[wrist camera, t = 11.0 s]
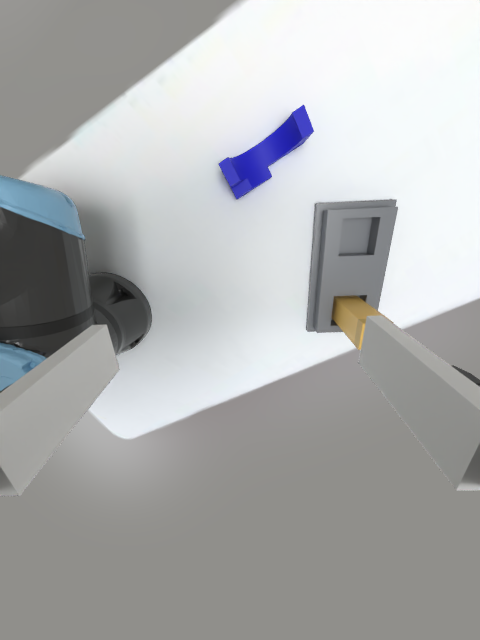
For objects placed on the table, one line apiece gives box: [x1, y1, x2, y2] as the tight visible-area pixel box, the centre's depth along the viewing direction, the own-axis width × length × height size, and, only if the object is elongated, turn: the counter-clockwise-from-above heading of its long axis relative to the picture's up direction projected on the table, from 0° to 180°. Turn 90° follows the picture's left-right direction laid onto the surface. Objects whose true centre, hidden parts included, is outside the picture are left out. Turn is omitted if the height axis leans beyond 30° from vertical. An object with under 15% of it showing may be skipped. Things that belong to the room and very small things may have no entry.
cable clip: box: [219, 105, 314, 199], centre depth 34 cm, size 12×4×6 cm, turn 120°
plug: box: [331, 295, 393, 350], centre depth 39 cm, size 4×4×12 cm
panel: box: [306, 200, 398, 333], centre depth 41 cm, size 12×22×4 cm, turn 3°
